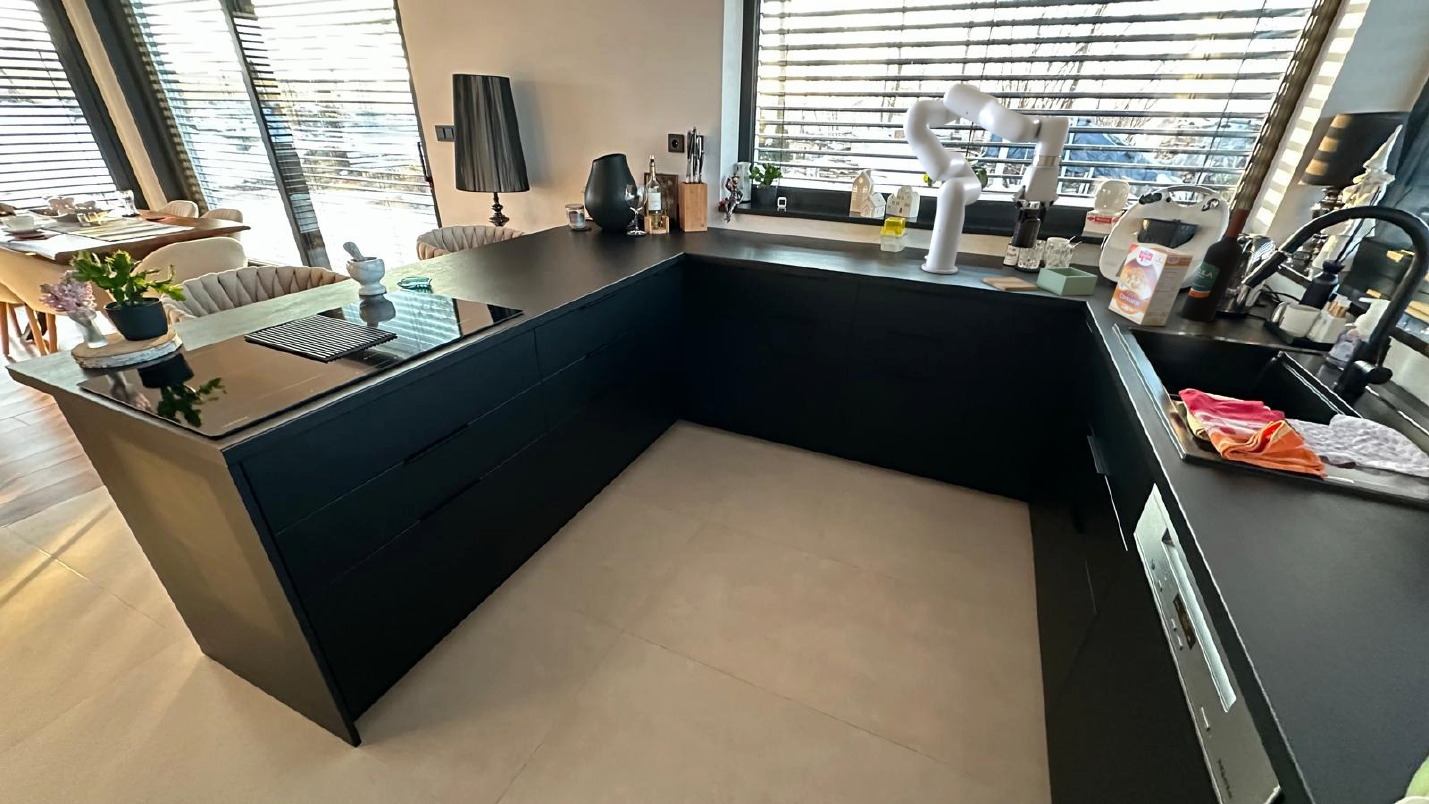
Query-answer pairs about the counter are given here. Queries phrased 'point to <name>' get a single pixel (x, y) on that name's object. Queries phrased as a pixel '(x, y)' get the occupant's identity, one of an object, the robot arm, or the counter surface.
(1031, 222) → the supplement bottle
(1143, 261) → the coffeecake box
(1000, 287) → the cork board
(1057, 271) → the box
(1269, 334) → the counter surface
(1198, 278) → the wine bottle
